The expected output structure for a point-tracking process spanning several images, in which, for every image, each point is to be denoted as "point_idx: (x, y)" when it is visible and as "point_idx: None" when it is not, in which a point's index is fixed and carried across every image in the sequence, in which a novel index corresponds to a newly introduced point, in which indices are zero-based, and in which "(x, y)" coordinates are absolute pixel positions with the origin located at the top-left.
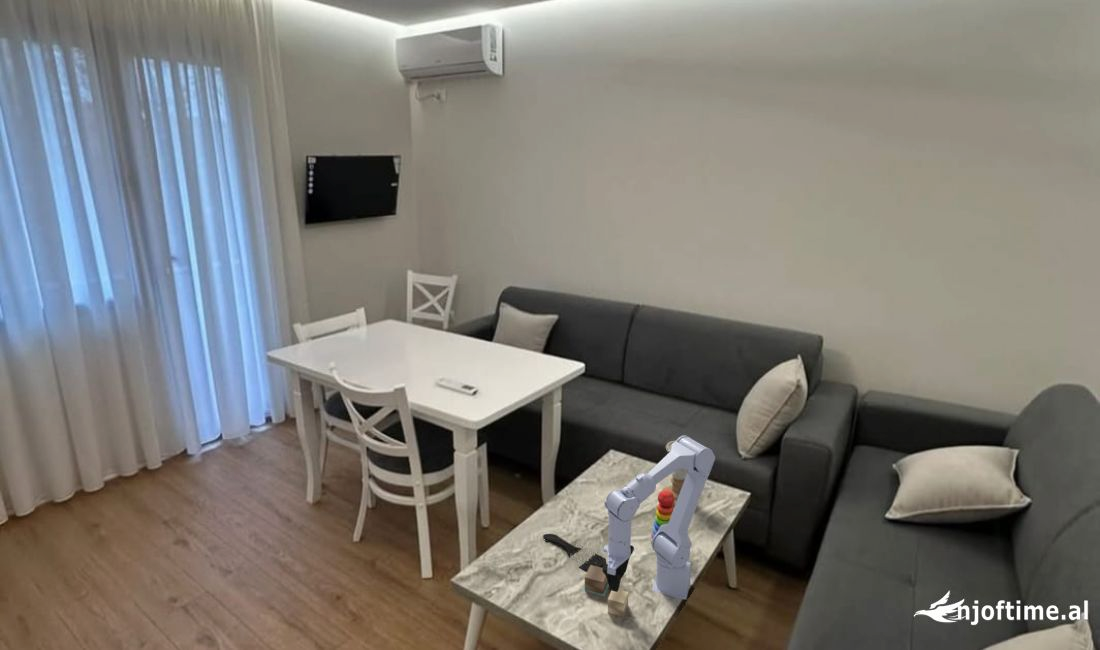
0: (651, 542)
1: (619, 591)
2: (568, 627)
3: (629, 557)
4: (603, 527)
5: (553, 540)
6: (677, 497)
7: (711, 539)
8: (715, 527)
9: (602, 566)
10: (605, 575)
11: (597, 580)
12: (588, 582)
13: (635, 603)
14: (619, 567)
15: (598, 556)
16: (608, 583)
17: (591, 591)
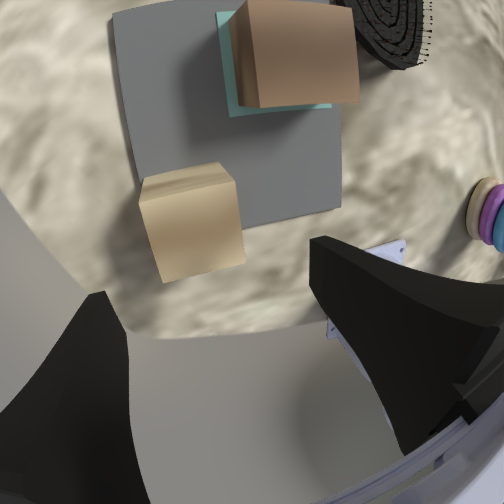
0: (484, 184)
1: (227, 226)
2: (5, 90)
3: (381, 401)
4: (493, 43)
5: None
6: None
7: (481, 279)
8: (499, 270)
9: (379, 59)
10: (2, 414)
11: (256, 73)
12: (241, 27)
13: (259, 237)
14: (328, 268)
15: (417, 34)
16: (64, 333)
17: (228, 52)
